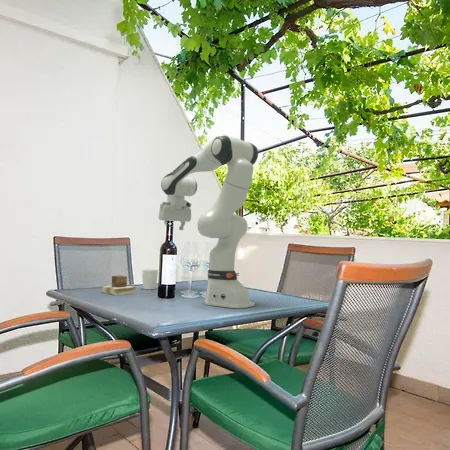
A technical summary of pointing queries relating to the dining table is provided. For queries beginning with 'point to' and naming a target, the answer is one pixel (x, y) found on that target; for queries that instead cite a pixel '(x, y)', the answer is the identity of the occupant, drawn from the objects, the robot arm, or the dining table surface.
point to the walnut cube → (119, 281)
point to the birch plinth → (118, 290)
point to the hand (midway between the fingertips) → (174, 229)
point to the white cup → (149, 278)
